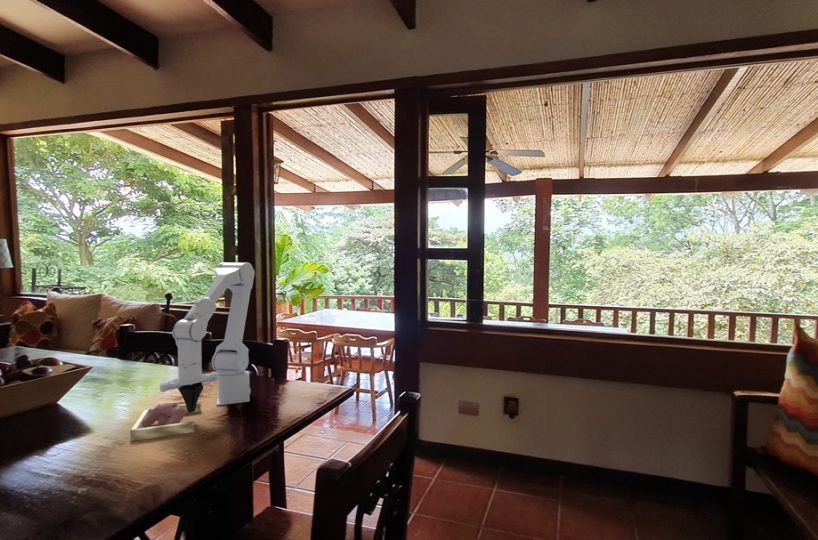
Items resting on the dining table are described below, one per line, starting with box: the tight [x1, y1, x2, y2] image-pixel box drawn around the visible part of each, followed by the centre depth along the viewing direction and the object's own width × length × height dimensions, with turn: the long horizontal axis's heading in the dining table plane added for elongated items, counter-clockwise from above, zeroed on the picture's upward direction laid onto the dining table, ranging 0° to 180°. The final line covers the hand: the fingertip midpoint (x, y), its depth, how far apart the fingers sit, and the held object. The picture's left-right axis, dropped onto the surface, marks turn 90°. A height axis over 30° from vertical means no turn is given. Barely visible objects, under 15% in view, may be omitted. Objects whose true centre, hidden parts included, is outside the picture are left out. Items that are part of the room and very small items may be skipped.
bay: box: [129, 401, 202, 442], centre depth 110 cm, size 14×16×2 cm
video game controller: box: [143, 402, 186, 428], centre depth 109 cm, size 10×5×7 cm, turn 70°
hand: (191, 411), depth 112 cm, fingers closed
